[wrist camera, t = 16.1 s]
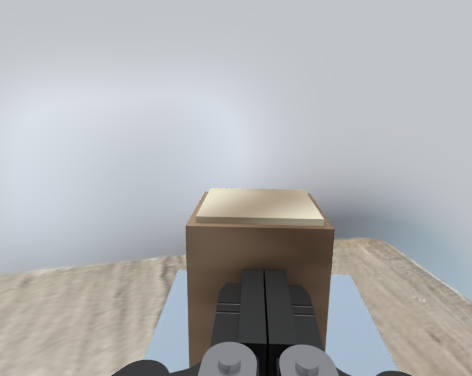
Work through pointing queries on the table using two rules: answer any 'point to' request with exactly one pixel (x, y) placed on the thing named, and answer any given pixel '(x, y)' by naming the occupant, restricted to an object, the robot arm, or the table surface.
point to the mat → (337, 339)
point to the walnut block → (254, 251)
